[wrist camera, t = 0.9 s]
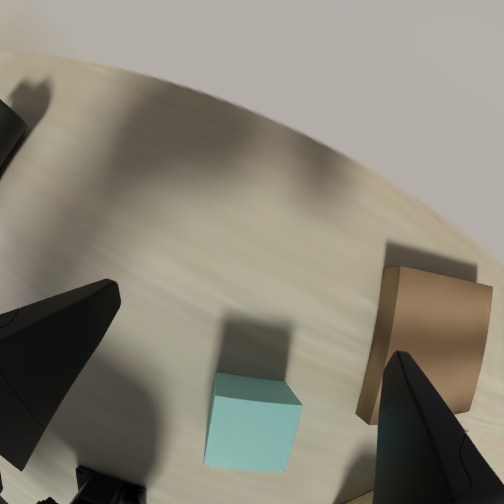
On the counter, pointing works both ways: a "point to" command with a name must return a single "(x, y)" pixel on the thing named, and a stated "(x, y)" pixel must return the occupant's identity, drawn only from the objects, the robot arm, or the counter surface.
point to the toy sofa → (363, 499)
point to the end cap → (9, 130)
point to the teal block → (251, 423)
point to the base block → (429, 335)
